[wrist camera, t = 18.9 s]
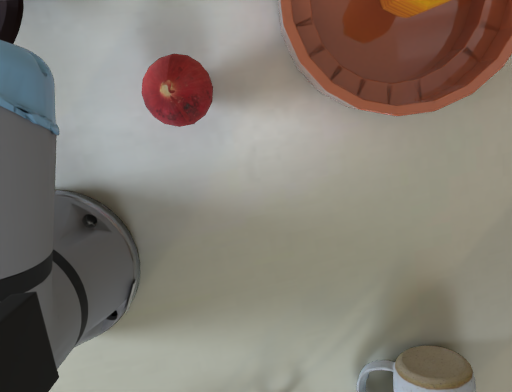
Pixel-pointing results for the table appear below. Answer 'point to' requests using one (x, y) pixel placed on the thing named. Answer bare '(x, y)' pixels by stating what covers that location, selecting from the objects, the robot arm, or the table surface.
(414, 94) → the basin
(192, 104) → the onion
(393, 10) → the carrot
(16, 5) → the mug
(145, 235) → the table surface
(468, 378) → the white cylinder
